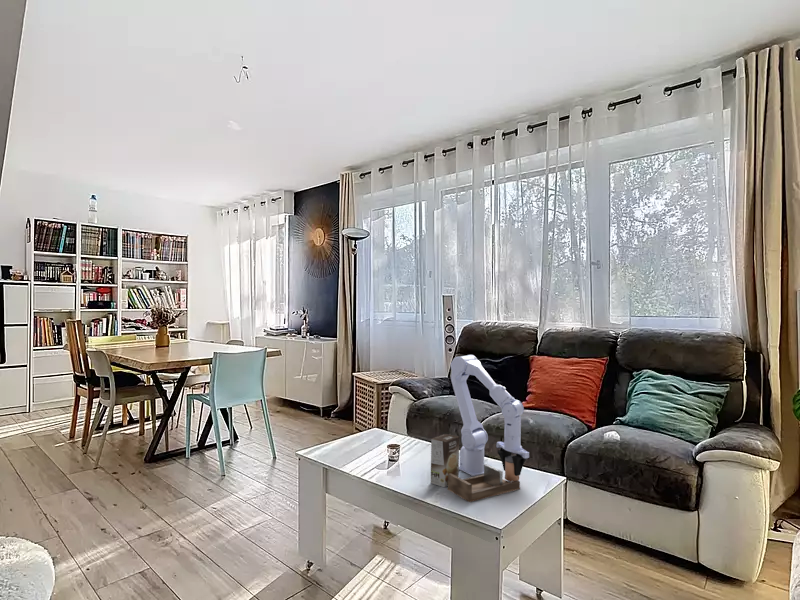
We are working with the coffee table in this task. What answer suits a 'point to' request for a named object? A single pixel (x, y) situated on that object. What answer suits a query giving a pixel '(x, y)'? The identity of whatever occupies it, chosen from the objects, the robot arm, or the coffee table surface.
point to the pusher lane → (478, 487)
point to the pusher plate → (492, 475)
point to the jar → (510, 469)
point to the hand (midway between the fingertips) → (511, 472)
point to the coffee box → (444, 458)
